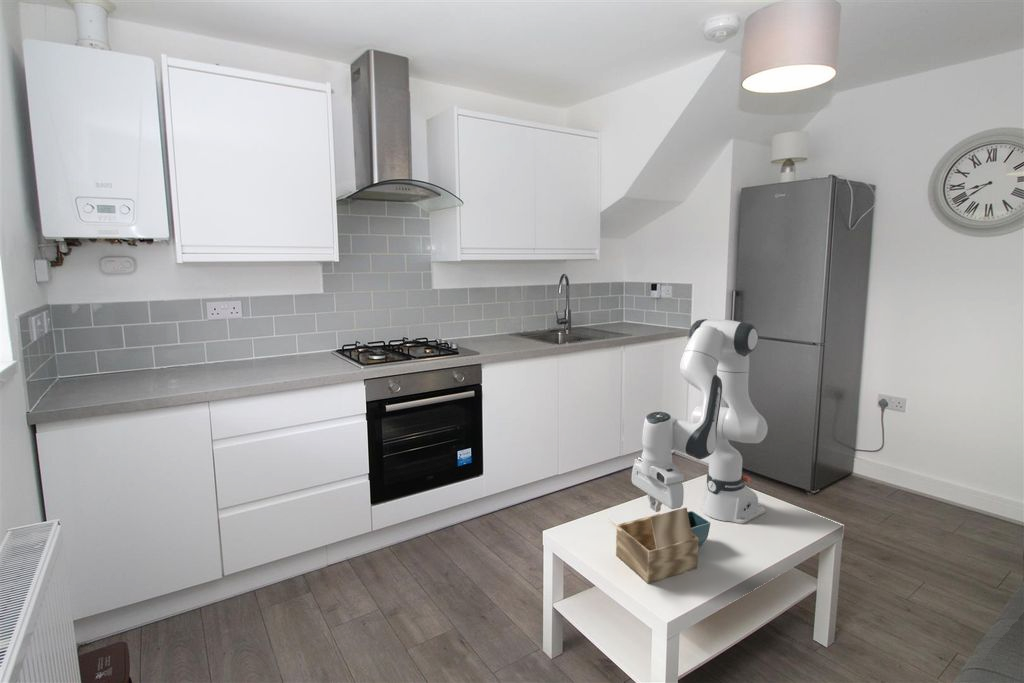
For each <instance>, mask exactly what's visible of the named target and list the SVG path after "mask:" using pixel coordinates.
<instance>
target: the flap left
mask: <svg viewBox="0 0 1024 683" xmlns="http://www.w3.org/2000/svg"><path fill="white" fill-rule="evenodd" d="M688 512H689V511H688V508H687V507H681V508H677V509H673V510H672V511H667V512H664V513H658V514H659V515H656V514H654V515H655V516H653V515H650V516H651V517H650V518H651V524H652V529H653V534H654V540H655V545H656V549H660V548H663V547H667V546H670V545H674V544H677V543H681V542H684V541H687V540H691V539H693V537H692V532H691V527H690V522H689V517H688Z"/></svg>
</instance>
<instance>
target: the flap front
mask: <svg viewBox="0 0 1024 683" xmlns="http://www.w3.org/2000/svg"><path fill="white" fill-rule="evenodd" d="M604 519H605V520H606V521H607V522H608V523H610V525H612V526H613V527H615V528H616V529H618V530H620V531H621V532H622V533H624V534H625V535H626V536H628V537H629V538H630V539H632V540H633V541H634V542H636V543H637V544H638V545H640V543H638V542H637V541H636V540H635V539H633V538H632V537H631V536H630V535H628V534H627V533H626V532H625V531H623V530H622V529H621V528H619V527H618V524H617V525H616V524H615V523H614V522H612V520H610V519H608V518H607V517H605V518H604Z"/></svg>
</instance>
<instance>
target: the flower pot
mask: <svg viewBox="0 0 1024 683" xmlns="http://www.w3.org/2000/svg"><path fill="white" fill-rule="evenodd" d="M687 512H688V517H689V522H690V527H691V532H693V533H694V534H696V536H697V537H698V548H700V547H702V546H703V545H704V544H705V543H706V541H707V539H708V536H709V533H710V527H711V522H710V521H709V520H707V519H706V518H704V517H703V516H701V515H699V514H698V513H696V512H695V511H693V510H690V511H687Z"/></svg>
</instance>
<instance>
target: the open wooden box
mask: <svg viewBox="0 0 1024 683" xmlns="http://www.w3.org/2000/svg"><path fill="white" fill-rule="evenodd" d="M659 514H660V513H656V514H653V515H649V516H645V517H642V518H637V519H634V520H629V521H626V522H625V521H624V522H622V523H618V524H617V526H618V527H619V528H621V529H622V530H623V531H625V532H626V533H627V534H628V535H630V536H631V537H632V538H633V539H635V540H636V541H637V542H638V543H640V545H638V544H637V543H636V542H634V541H633V540H632V539H630V538H629V537H628V536H626V535H625V534H624V533H622V532H621V531H620V530H618V529H617V528H616V533H615V534H616V537H615V538H616V539H615V540H616V541H615V543H616V544H615V556H616V557H617V558H618V559H619V560H620V561H621V562H623V563H624V564H625V565H626V566H627V567H628V568H629V569H630V570H632V571H633V572H634V573H635V574H636V575H637V576H639V577H640V578H641V579H642V581H644V582H645V583H646V584H647V585H649V584H653V583H656V582H658V581H659V582H660V581H662V580H665V579H668V578H672V577H675V576H678V575H680V574H684V573H687V572H690V571H693V570H696V569H697V568H698V557H699V556H698V554H699V547H698V537H697V536H696V534H694V533H693V532H692V537H693V539H691V540H687V541H684V542H681V543H677V544H674V545H670V546H667V547H663V548H660V549H656V545H655V540H654V534H653V529H652V524H651V518H650V517H651V516H655V515H659Z"/></svg>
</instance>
